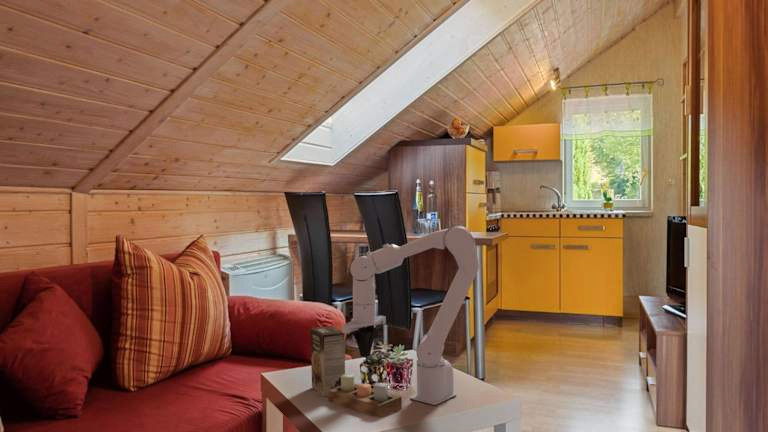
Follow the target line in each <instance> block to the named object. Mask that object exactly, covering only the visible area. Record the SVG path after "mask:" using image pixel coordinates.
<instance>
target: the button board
mask: <svg viewBox="0 0 768 432" xmlns="http://www.w3.org/2000/svg"><path fill="white" fill-rule="evenodd" d="M357 385H358V384H357V383H355V391H352V392H349V393H346V392H343V391H341V386H340V387H337V388H334V389H331V390H328V396H327V398H328V399H327V401H328V402H329V403H331V404H334V405H337V406H340V407H344V408H347V409H351V410H353V411H357V412H360V413H364V414H365V415H370V416H372V417H376V418H382V417H385V416H387V415H389V414H391V413H394V412H396V411H398V410H400V409H403V408H402V407H403V402H402V401H403V400H402V399H403V398H402V396H400V395H396V394H393V393H390V392H388V401H385V402H383V403H381V402H377V401H374V388H372V387H371V395H370V396H368V397H365V398H363V397H360V396H357Z"/></svg>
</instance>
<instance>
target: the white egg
mask: <svg viewBox="0 0 768 432" xmlns="http://www.w3.org/2000/svg"><path fill="white" fill-rule="evenodd" d="M373 389H374V401H377V402H381V403H383V402H385V401H388V393H389V384H388V383H386V382H376V383H374V384H373Z"/></svg>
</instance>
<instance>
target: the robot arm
mask: <svg viewBox="0 0 768 432" xmlns="http://www.w3.org/2000/svg"><path fill="white" fill-rule="evenodd" d="M445 248H446V249H448V251H449V252H450V254H452V255H453V257H454V259H455V262H456V263H457V267H458V269H457V271H456V274H455V276H454V277H453V280H452V282H451V284H450V286H449V288H448V291H447V293H446V295H445V297H444V299H443V301H442V303H441V305H440V307H439V309H438V311H437V314H436V316H435V318H434V320H433V322H432V325H431V326H430V328H429V330H428V331H427V332H426V333H425V334H424V335H423V336H422V337H421V338H420V342H419V344H418V345H417V348H416V357H417V359H416V393H415V394H413V395H411V396H409V399H411V400H414V401H417V402H422V403H424V404H425V403H426V404H429V405H433V406H436V405H438V404H440V403H443V402H445V401H448V400H450V399H452V398H455V397H456V396H457V393H455V392H454V368H453V366H452V364H451V363H450V362H449V361H448V360H446V359H445V358H444V357H443V352H444V349H445V342H446V340H447V337H448V335H449V333H450V330H451V328H452V326H453V324H454V322H455V320H456V318H457V316H458V314H459V312H460V309H461V307H462V305H463V303H464V301H465V299H466V297H467V295H468V292H469V290H470V288H471V286H472V284H473V282H474V280H475V278H476V276H477V273H478V271H479V268H480V265H479V259H478V252H477V247H476V241H475V239H474V236H473V235H472V233H471V231H470V230H469V229H468V227H466V226H463V225H455V226H452V227H451V228H450V229H449V228H445V229H440V230H437V231H433V232H431V233H428V234H425V235H424V236H421V237H419V238H417V239H415V240H413V241H410V242H407V243H405V244H403V245H401V246H399V245H396V244H394V243H391V244H389V243H386V244H383V245H382V248H379V249H376V250H374V251H372V252H371V251H370V250H369V251H367V252H366V253H365V254H366V255H362V256H358V257H357V258H355V259H354V260H353V261H352V262H351V264H350V269H349V271H350V274H351V275H352V318H351V319H350V321H349V322H347V323H344V324H341V331H342V333H345V334H347V335H348V334H351V335H352V336H353V338H354V340H355V342H356V345H357V348H358V351H359V355H360V357H361V358H369V357H371V352H372V347H373V344H374V342H375V339H376V337H377V334H378V333H379V328H378V327H375V326H378V325H385V324H387V319H386V318H387V317H386V316H385V315H376V285H375V274H378V275H379V274H382V273H384V272H386V271H390V270H392V269H394V268H397V267H399V266H401V265H403V262H404V259H405V258H408V257H410V256H414V255H417V254H419V253H422V252H425V251H427V250H430V249H440V250H445Z"/></svg>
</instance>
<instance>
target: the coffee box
mask: <svg viewBox="0 0 768 432" xmlns="http://www.w3.org/2000/svg"><path fill="white" fill-rule="evenodd" d="M345 334H346V333H342V330H340V329H339V328H336V327H334V326H333V325H330V326H318V327H311V328H310V352H311V354H310V355H311V356H310V361H311V388H313V389H314V390H315V391H316V392H317V393H318V394H320V395H321V396H322V397H324V398H325V397H328V390H331V389H334V388H337V387H340V386H341V376H342V375H345V374H346V347H345V345H346V339H345V336H346V335H345Z"/></svg>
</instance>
